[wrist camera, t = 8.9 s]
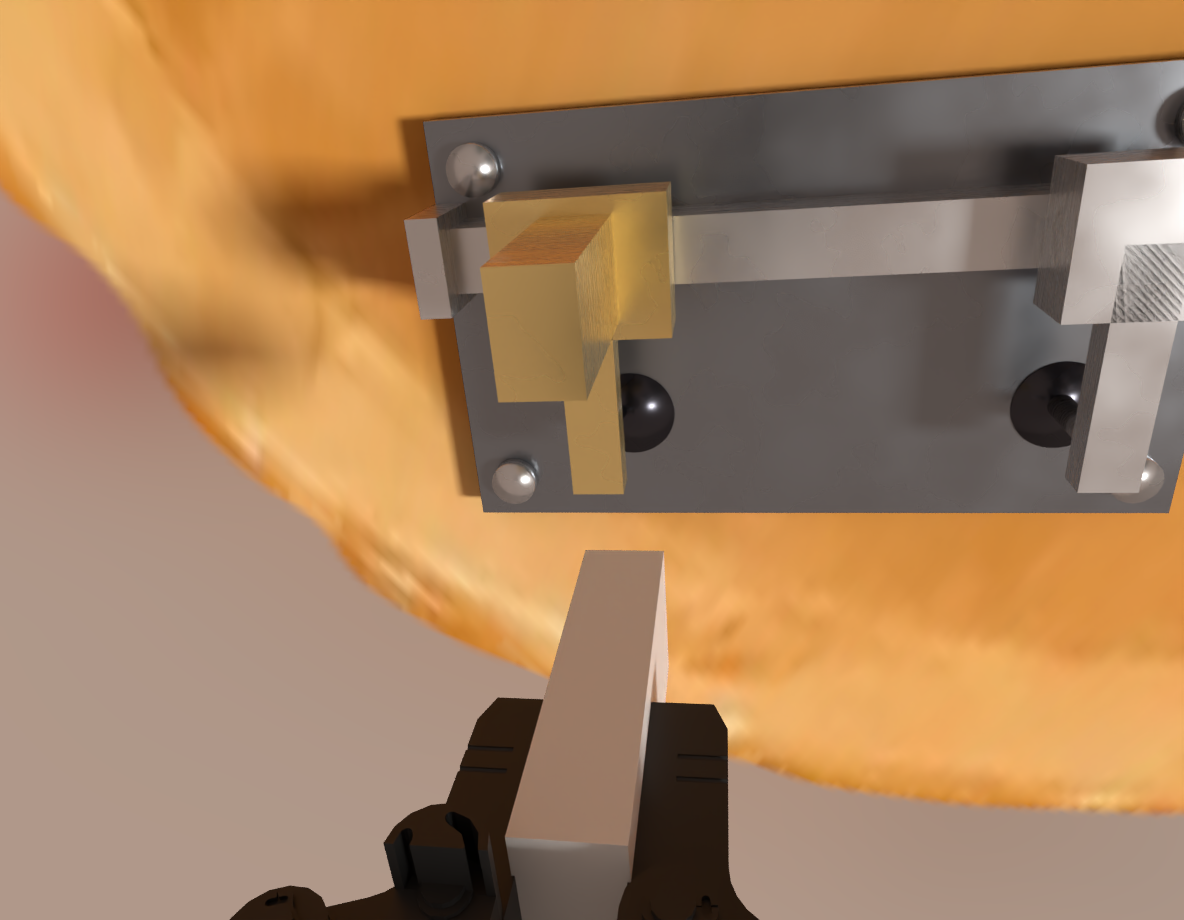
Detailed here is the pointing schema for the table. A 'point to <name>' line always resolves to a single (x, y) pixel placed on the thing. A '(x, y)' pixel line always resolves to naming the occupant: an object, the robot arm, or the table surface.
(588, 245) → the sliding leg
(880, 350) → the bolt plate
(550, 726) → the robot arm
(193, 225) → the table surface
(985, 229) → the grey long bar piece
